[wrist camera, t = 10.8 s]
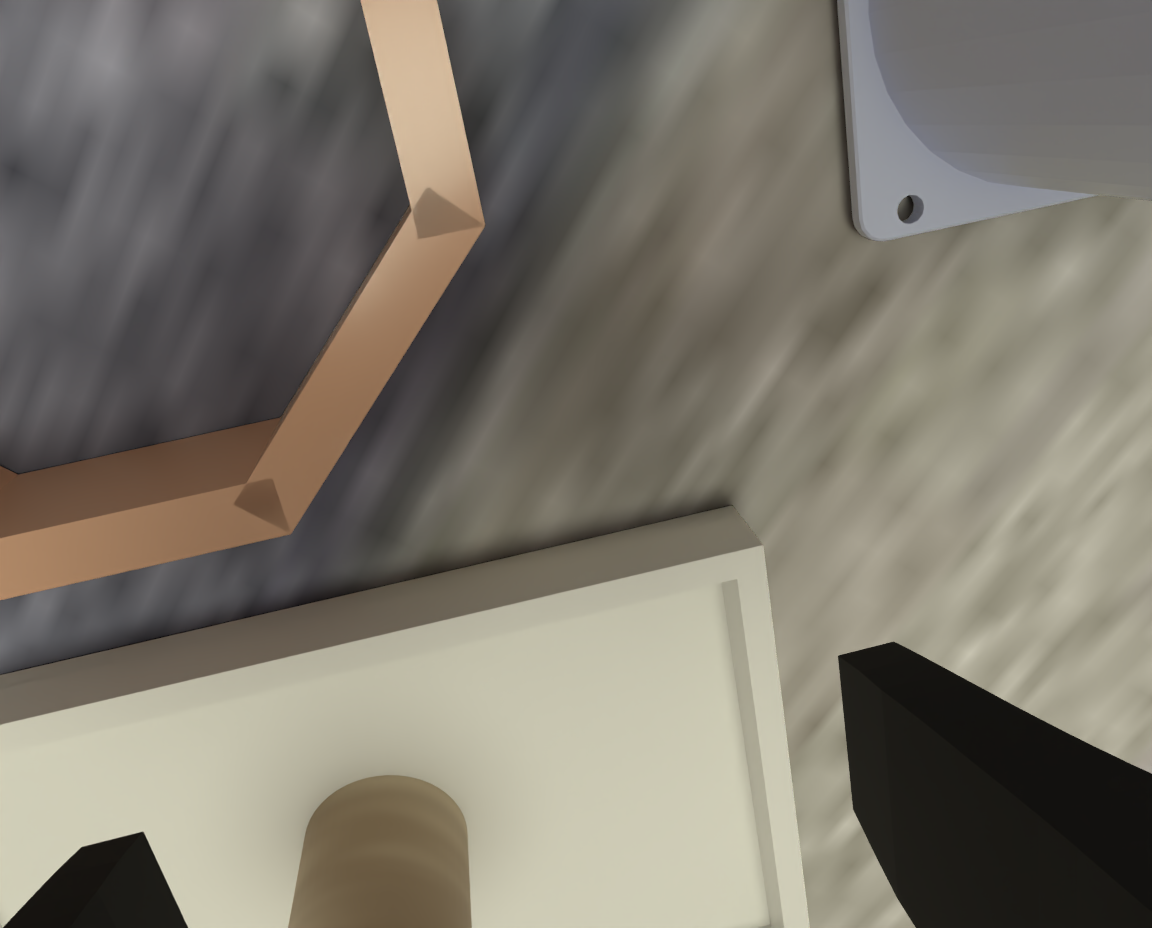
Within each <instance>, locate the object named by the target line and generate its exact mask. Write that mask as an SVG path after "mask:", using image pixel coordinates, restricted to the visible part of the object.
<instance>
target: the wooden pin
mask: <svg viewBox="0 0 1152 928" xmlns="http://www.w3.org/2000/svg"><path fill="white" fill-rule="evenodd" d="M288 928H472V921H471V899H470V877H469V855H468V833H467V826H466V821H465V819H464V816H463V813H462V812H461V810H460V808H459V807H458V805H457V804H456V803H455V801H454V800H453V799H452V798H451V797H450V796H449V795H448V794H447V793H445V792H444V791H442V790H441V789H440V788H438V787H436V786H434V785H432V784H430V783H428V782H425V781H423V780H420V779H416V778H412V777H407V776H400V775H384V776H375V777H369V778H365V779H362V780H358V781H355V782H353V783H350V784H348V785H346V786H344V787H342V788H340V789H339V790H337V791H335V792H334V793H333V794H331V795H330V796H329V797H327V798H326V799H325V800H324V801H323V802H322V803H321V804H320V805H319V807H318V808H317V809H316V810H315V812H314V814H313V815H312V817H311V819H310V821H309V823H308V826H307V829H306V833H305V838H304V843H303V849H302V854H301V860H300V865H299V871H298V876H297V881H296V887H295V892H294V898H293V903H292V909H291V914H290V920H289V925H288Z"/></svg>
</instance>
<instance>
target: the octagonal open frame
mask: <svg viewBox="0 0 1152 928" xmlns="http://www.w3.org/2000/svg"><path fill="white" fill-rule="evenodd" d="M361 4H362V8H363V12H364V16H365V21H366V25H367V29H368V33H369V37H370V41H371V45H372V49H373V53H374V58H375V62H376V66H377V70H378V74H379V78H380V82H381V86H382V90H383V95H384V99H385V103H386V107H387V111H388V115H389V119H390V123H391V128H392V132H393V136H394V140H395V144H396V148H397V152H398V156H399V160H400V165H401V169H402V173H403V177H404V181H405V185H406V189H407V193H408V197H409V202H410V205H409V207H408V208H407V210H406V212H405V213H404V215H403V217H402V218H401V220H400V222H399V223H398V225H397V226H396V228H395V230H394V231H393V233H392V235H391V236H390V238H389V240H388V241H387V243H386V245H385V246H384V248H383V250H382V251H381V253H380V255H379V256H378V258H377V259H376V261H375V263H374V264H373V266H372V268H371V269H370V271H369V273H368V274H367V276H366V278H365V279H364V281H363V283H362V284H361V286H360V287H359V289H358V291H357V292H356V294H355V296H354V297H353V299H352V301H351V302H350V304H349V306H348V307H347V309H346V311H345V312H344V314H343V316H342V317H341V319H340V320H339V322H338V324H337V325H336V327H335V329H334V330H333V332H332V334H331V335H330V337H329V339H328V340H327V342H326V344H325V345H324V347H323V349H322V350H321V352H320V353H319V355H318V357H317V358H316V360H315V362H314V363H313V365H312V367H311V368H310V370H309V372H308V373H307V375H306V377H305V378H304V380H303V381H302V383H301V385H300V386H299V388H298V390H297V391H296V393H295V395H294V396H293V398H292V400H291V401H290V403H289V405H288V406H287V408H286V410H285V411H284V413H283V414H282V416H281V417H280V418H276V419H271V420H266V421H262V422H257V423H253V424H248V425H244V426H239V427H234V428H230V429H225V430H221V431H216V432H211V433H207V434H202V435H198V436H193V437H188V438H184V439H179V440H175V441H170V442H165V443H161V444H156V445H152V446H147V447H143V448H138V449H133V450H129V451H124V452H120V453H115V454H110V455H106V456H101V457H97V458H92V459H87V460H83V461H78V462H74V463H69V464H64V465H60V466H55V467H51V468H46V469H42V470H37V471H32V472H28V473H23V474H19V475H18V474H16V473H14V472H12V471H10V470H8V469H5V468H3V467H1V466H0V600H3V599H7V598H12V597H16V596H21V595H25V594H29V593H34V592H38V591H43V590H47V589H51V588H56V587H60V586H65V585H69V584H73V583H78V582H82V581H87V580H91V579H96V578H100V577H104V576H109V575H113V574H118V573H122V572H126V571H131V570H135V569H140V568H144V567H148V566H153V565H157V564H162V563H166V562H171V561H175V560H179V559H184V558H188V557H193V556H197V555H201V554H206V553H210V552H215V551H219V550H224V549H228V548H232V547H237V546H241V545H246V544H250V543H254V542H259V541H263V540H268V539H272V538H276V537H281V536H285V535H290V534H291V533H292V532H293V530H294V529H295V527H296V525H297V524H298V522H299V521H300V519H301V518H302V516H303V514H304V513H305V511H306V510H307V508H308V506H309V505H310V503H311V502H312V500H313V498H314V497H315V495H316V494H317V492H318V491H319V489H320V487H321V486H322V484H323V483H324V481H325V479H326V478H327V476H328V475H329V473H330V471H331V470H332V468H333V467H334V465H335V464H336V462H337V460H338V459H339V457H340V456H341V454H342V452H343V451H344V449H345V448H346V446H347V445H348V443H349V441H350V440H351V438H352V437H353V435H354V433H355V432H356V430H357V429H358V427H359V425H360V424H361V422H362V421H363V419H364V418H365V416H366V414H367V413H368V411H369V410H370V408H371V406H372V405H373V403H374V402H375V400H376V398H377V397H378V395H379V394H380V392H381V391H382V389H383V387H384V386H385V384H386V383H387V381H388V379H389V378H390V376H391V375H392V373H393V372H394V370H395V368H396V367H397V365H398V364H399V362H400V360H401V359H402V357H403V356H404V354H405V352H406V351H407V349H408V348H409V346H410V345H411V343H412V341H413V340H414V338H415V337H416V335H417V333H418V332H419V330H420V329H421V327H422V325H423V324H424V322H425V321H426V319H427V318H428V316H429V314H430V313H431V311H432V310H433V308H434V306H435V305H436V303H437V302H438V300H439V299H440V297H441V295H442V294H443V292H444V291H445V289H446V287H447V286H448V284H449V283H450V281H451V279H452V278H453V276H454V275H455V273H456V272H457V270H458V268H459V267H460V265H461V264H462V262H463V260H464V259H465V257H466V256H467V254H468V252H469V251H470V249H471V248H472V246H473V245H474V243H475V241H476V240H477V238H478V237H479V235H480V233H481V232H482V230H483V229H484V227H485V221H484V217H483V212H482V207H481V203H480V198H479V193H478V189H477V184H476V180H475V175H474V170H473V166H472V161H471V156H470V152H469V147H468V142H467V138H466V133H465V128H464V124H463V119H462V115H461V110H460V105H459V101H458V96H457V91H456V87H455V82H454V77H453V73H452V68H451V64H450V59H449V54H448V50H447V45H446V40H445V36H444V31H443V26H442V22H441V17H440V12H439V8H438V3H437V0H361Z"/></svg>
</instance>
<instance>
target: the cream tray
mask: <svg viewBox="0 0 1152 928" xmlns="http://www.w3.org/2000/svg"><path fill="white" fill-rule="evenodd" d="M384 775H400V776H407V777H412V778H416V779H420V780H423V781H425V782H428V783H430V784H432V785H434V786H436V787H438V788H440V789H441V790H442V791H444V792H445V793H447V794H448V795H449V796H450V797H451V798H452V799H453V800H454V801H455V803H456V804H457V805H458V807H459V808H460V810H461V812H462V813H463V816H464V819H465V821H466V826H467V833H468V855H469V877H470V899H471V921H472V928H810V926H809V918H808V909H807V901H806V893H805V885H804V876H803V868H802V860H801V852H800V843H799V835H798V827H797V819H796V810H795V802H794V794H793V786H792V777H791V769H790V761H789V753H788V744H787V736H786V728H785V720H784V712H783V703H782V695H781V687H780V679H779V670H778V662H777V654H776V646H775V637H774V629H773V621H772V613H771V604H770V596H769V588H768V580H767V571H766V563H765V555H764V547H763V544H762V543H761V541H760V540H759V539H758V538H757V536H756V535H755V534H754V532H753V531H752V530H751V529H750V527H749V526H748V525H747V523H746V522H745V521H744V520H743V518H742V517H741V516H740V514H739V513H738V512H737V511H736V509H735V508H734V507H733V505H732V506H727V507H723V508H719V509H714V510H710V511H706V512H701V513H697V514H693V515H688V516H684V517H680V518H675V519H671V520H667V521H663V522H658V523H654V524H650V525H645V526H641V527H637V528H632V529H628V530H624V531H619V532H615V533H611V534H607V535H602V536H598V537H594V538H589V539H585V540H581V541H576V542H572V543H568V544H563V545H559V546H555V547H551V548H546V549H542V550H538V551H533V552H529V553H525V554H520V555H516V556H512V557H507V558H503V559H499V560H494V561H490V562H486V563H482V564H477V565H473V566H469V567H464V568H460V569H456V570H451V571H447V572H443V573H438V574H434V575H430V576H426V577H421V578H417V579H413V580H408V581H404V582H400V583H395V584H391V585H387V586H382V587H378V588H374V589H369V590H365V591H361V592H357V593H352V594H348V595H344V596H339V597H335V598H331V599H326V600H322V601H318V602H313V603H309V604H305V605H301V606H296V607H292V608H288V609H283V610H279V611H275V612H270V613H266V614H262V615H257V616H253V617H249V618H245V619H240V620H236V621H232V622H227V623H223V624H219V625H214V626H210V627H206V628H201V629H197V630H193V631H188V632H184V633H180V634H176V635H171V636H167V637H163V638H158V639H154V640H150V641H145V642H141V643H137V644H132V645H128V646H124V647H120V648H115V649H111V650H107V651H102V652H98V653H94V654H89V655H85V656H81V657H76V658H72V659H68V660H63V661H59V662H55V663H51V664H46V665H42V666H38V667H33V668H29V669H25V670H20V671H16V672H12V673H7V674H3V675H0V928H3V927H4V926H5V925H6V924H7V923H8V921H9V920H10V919H11V918H12V917H13V916H14V915H15V914H16V913H17V912H18V911H19V910H20V909H21V908H22V907H23V905H24V904H25V903H26V902H27V901H28V900H29V899H30V898H31V897H32V896H33V895H34V894H35V893H36V892H37V891H38V890H39V889H40V888H41V887H42V885H43V884H44V883H45V882H46V881H47V880H48V879H49V878H50V877H51V876H52V875H53V874H54V873H55V872H56V871H57V870H58V869H59V868H60V867H61V866H62V865H63V864H64V863H65V862H66V861H67V860H68V859H69V858H70V857H72V856H73V855H74V854H75V853H76V852H77V851H78V850H79V849H80V848H81V847H83V846H87V845H91V844H95V843H99V842H103V841H107V840H111V839H115V838H119V837H123V836H127V835H131V834H135V833H139V832H144V834H145V836H146V838H147V840H148V842H149V844H150V847H151V849H152V851H153V853H154V855H155V857H156V860H157V862H158V864H159V866H160V868H161V870H162V872H163V875H164V877H165V879H166V881H167V883H168V885H169V888H170V890H171V892H172V894H173V896H174V898H175V900H176V903H177V905H178V907H179V909H180V911H181V913H182V915H183V918H184V920H185V922H186V924H187V926H188V928H288V925H289V920H290V914H291V909H292V903H293V898H294V892H295V887H296V881H297V876H298V871H299V865H300V860H301V854H302V849H303V843H304V838H305V833H306V829H307V826H308V823H309V821H310V819H311V817H312V815H313V814H314V812H315V810H316V809H317V808H318V807H319V805H320V804H321V803H322V802H323V801H324V800H325V799H326V798H327V797H329V796H330V795H331V794H333V793H334V792H335V791H337V790H339V789H340V788H342V787H344V786H346V785H348V784H350V783H353V782H355V781H358V780H362V779H365V778H369V777H375V776H384Z"/></svg>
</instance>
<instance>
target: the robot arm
mask: <svg viewBox="0 0 1152 928" xmlns="http://www.w3.org/2000/svg"><path fill="white" fill-rule="evenodd" d="M837 6H838V20H839V34H840V48H841V63H842V77H843V91H844V105H845V119H846V133H847V147H848V162H849V176H850V190H851V204H852V218H853V222H854V226H855V228H856V230H857V231H858V232H859V233H860V235H862V236H864V237H866V238H868V239H871V240H874V241H888V240H893V239H897V238H902V237H907V236H911V235H916V234H921V233H925V232H930V231H935V230H939V229H944V228H949V227H953V226H958V225H963V224H967V223H972V222H977V221H981V220H986V219H991V218H995V217H1000V216H1005V215H1009V214H1014V213H1019V212H1023V211H1028V210H1033V209H1037V208H1042V207H1047V206H1051V205H1056V204H1061V203H1065V202H1070V201H1075V200H1079V199H1084V198H1089V197H1093V196H1098V195H1103V196H1112V197H1121V198H1131V199H1140V200H1149V201H1152V0H837ZM907 196H910V197H911V198H912V200H913V203H914V208H913V212H912V214H911V215H910V216H909V218H908V219H906V220H904V221H901V220H900V219H899V216H898V213H897V210H898V205H899V203H900V202H901V201H902V199H903V198H905V197H907ZM838 660H839V670H840V680H841V690H842V701H843V711H844V721H845V731H846V741H847V751H848V761H849V771H850V781H851V792H852V802H853V810H854V812H855V814H856V816H857V818H858V820H859V822H860V824H861V826H862V828H863V830H864V832H865V834H866V837H867V839H868V841H869V843H870V845H871V847H872V849H873V851H874V853H875V855H876V857H877V859H878V861H879V863H880V865H881V867H882V869H883V871H884V873H885V875H886V877H887V879H888V881H889V883H890V885H891V887H892V889H893V890H894V892H895V894H896V896H897V898H898V900H899V902H900V903H901V905H902V906H903V908H904V910H905V911H906V913H907V914H908V916H909V917H910V919H911V921H912V922H913V924H914V925H915V927H916V928H1152V774H1151V773H1149V772H1147V771H1145V770H1142V769H1140V768H1138V767H1136V766H1134V765H1131V764H1129V763H1127V762H1125V761H1123V760H1121V759H1119V758H1117V757H1115V756H1113V755H1111V754H1109V753H1107V752H1104V751H1102V750H1100V749H1098V748H1096V747H1094V746H1092V745H1090V744H1088V743H1086V742H1084V741H1082V740H1080V739H1078V738H1076V737H1074V736H1072V735H1070V734H1068V733H1066V732H1064V731H1062V730H1060V729H1058V728H1056V727H1054V726H1052V725H1050V724H1048V723H1047V722H1045V721H1043V720H1041V719H1039V718H1037V717H1035V716H1033V715H1031V714H1029V713H1027V712H1025V711H1023V710H1022V709H1020V708H1018V707H1016V706H1014V705H1012V704H1010V703H1008V702H1006V701H1004V700H1003V699H1001V698H999V697H997V696H995V695H993V694H991V693H990V692H988V691H986V690H984V689H982V688H980V687H978V686H977V685H975V684H973V683H971V682H969V681H967V680H965V679H964V678H962V677H960V676H958V675H956V674H954V673H953V672H951V671H949V670H947V669H945V668H943V667H941V666H940V665H938V664H936V663H934V662H932V661H930V660H928V659H927V658H925V657H923V656H921V655H919V654H917V653H915V652H913V651H911V650H909V649H907V648H905V647H903V646H901V645H899V644H897V643H895V642H890V643H886V644H883V645H879V646H875V647H871V648H867V649H863V650H859V651H855V652H851V653H847V654H843V655H839V656H838ZM3 928H188V926H187V924H186V922H185V920H184V918H183V915H182V913H181V911H180V909H179V907H178V905H177V903H176V900H175V898H174V896H173V894H172V892H171V890H170V888H169V885H168V883H167V881H166V879H165V877H164V875H163V872H162V870H161V868H160V866H159V864H158V862H157V860H156V857H155V855H154V853H153V851H152V849H151V847H150V844H149V842H148V840H147V838H146V836H145V834H144V832H139V833H135V834H131V835H127V836H123V837H119V838H115V839H111V840H107V841H103V842H99V843H95V844H91V845H87V846H83V847H81V848H80V849H79V850H78V851H77V852H76V853H75V854H74V855H73V856H72V857H70V858H69V859H68V860H67V861H66V862H65V863H64V864H63V865H62V866H61V867H60V868H59V869H58V870H57V871H56V872H55V873H54V874H53V875H52V876H51V877H50V878H49V879H48V880H47V881H46V882H45V883H44V884H43V885H42V887H41V888H40V889H39V890H38V891H37V892H36V893H35V894H34V895H33V896H32V897H31V898H30V899H29V900H28V901H27V902H26V903H25V904H24V905H23V907H22V908H21V909H20V910H19V911H18V912H17V913H16V914H15V915H14V916H13V917H12V918H11V919H10V920H9V921H8V923H7V924H6V925H5V926H4V927H3Z"/></svg>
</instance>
